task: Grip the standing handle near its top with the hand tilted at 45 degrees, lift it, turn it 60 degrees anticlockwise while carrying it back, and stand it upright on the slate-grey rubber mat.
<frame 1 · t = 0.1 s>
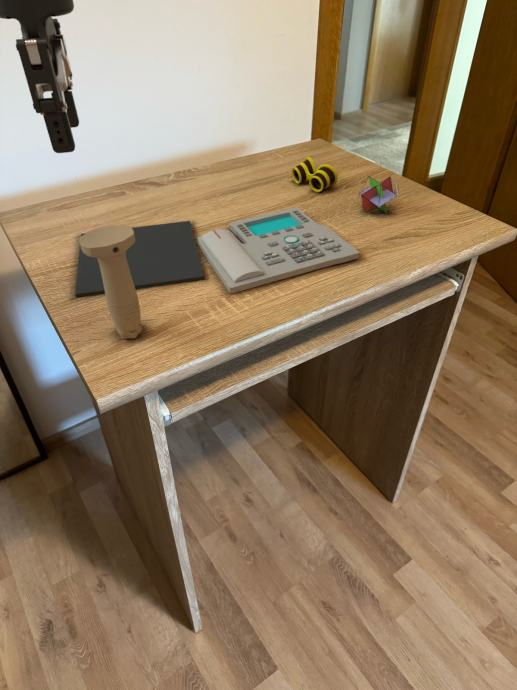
hand: (68, 138, 54), 25 cm above the table, tool pointing down, fingers open, 8 cm apart
geometric puzzle: (375, 211, 95), on the table
opera glasses: (312, 186, 105), on the table
office telephone: (270, 249, 85), on the table
mat: (139, 256, 84), on the table
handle: (130, 334, 68), on the table
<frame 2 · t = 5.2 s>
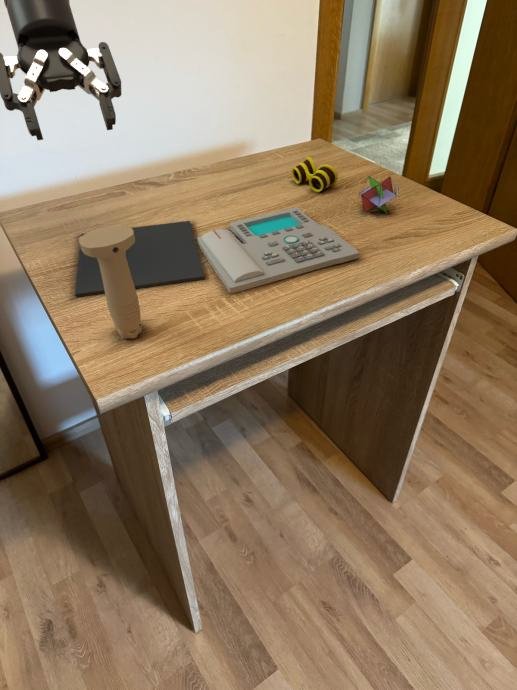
hand: (75, 131, 60), 24 cm above the table, tool tilted 45°, fingers open, 8 cm apart
nothing on the table moved.
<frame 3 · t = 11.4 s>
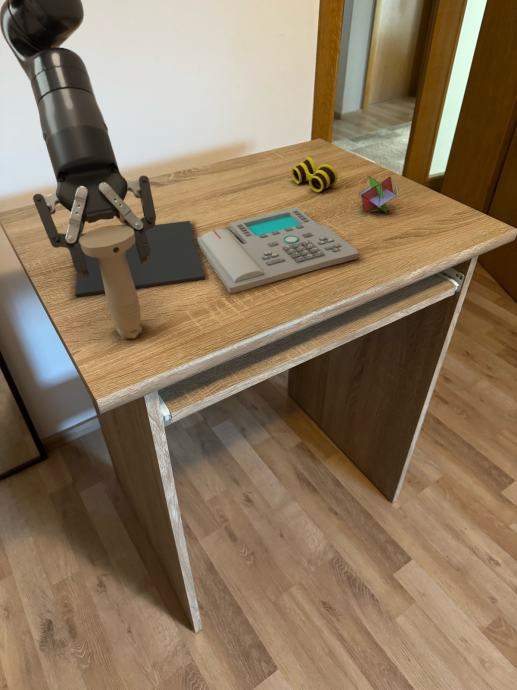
hand: (115, 268, 59), 11 cm above the table, tool tilted 45°, fingers closed on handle, 6 cm apart
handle: (130, 334, 68), on the table, touching gripper
everything else where it was.
when the fingers open (12 cm above the table, at t = 28.5 s): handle stays where it is, resting on mat.
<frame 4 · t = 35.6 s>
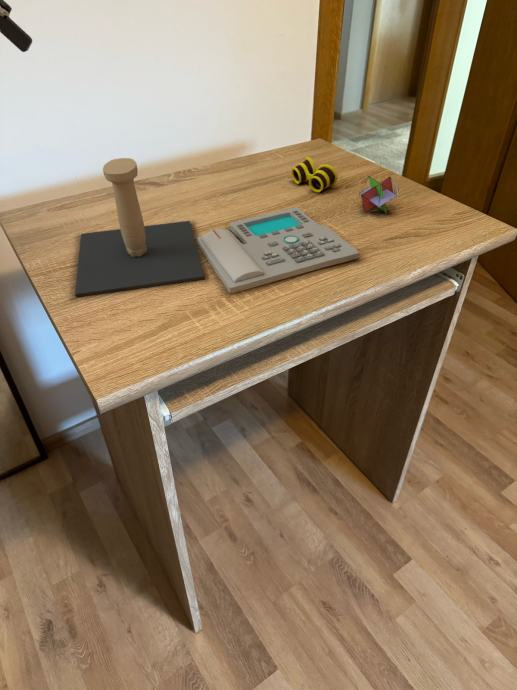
hand: (13, 53, 64), 31 cm above the table, tool tilted 45°, fingers open, 8 cm apart
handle: (137, 254, 83), resting on mat
everything else where it was.
at the end: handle inside the target area on the mat (0.1 cm from its centre), point 0.4 cm above the mat's base; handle tilted 0°; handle moved 21.2 cm from its start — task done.
